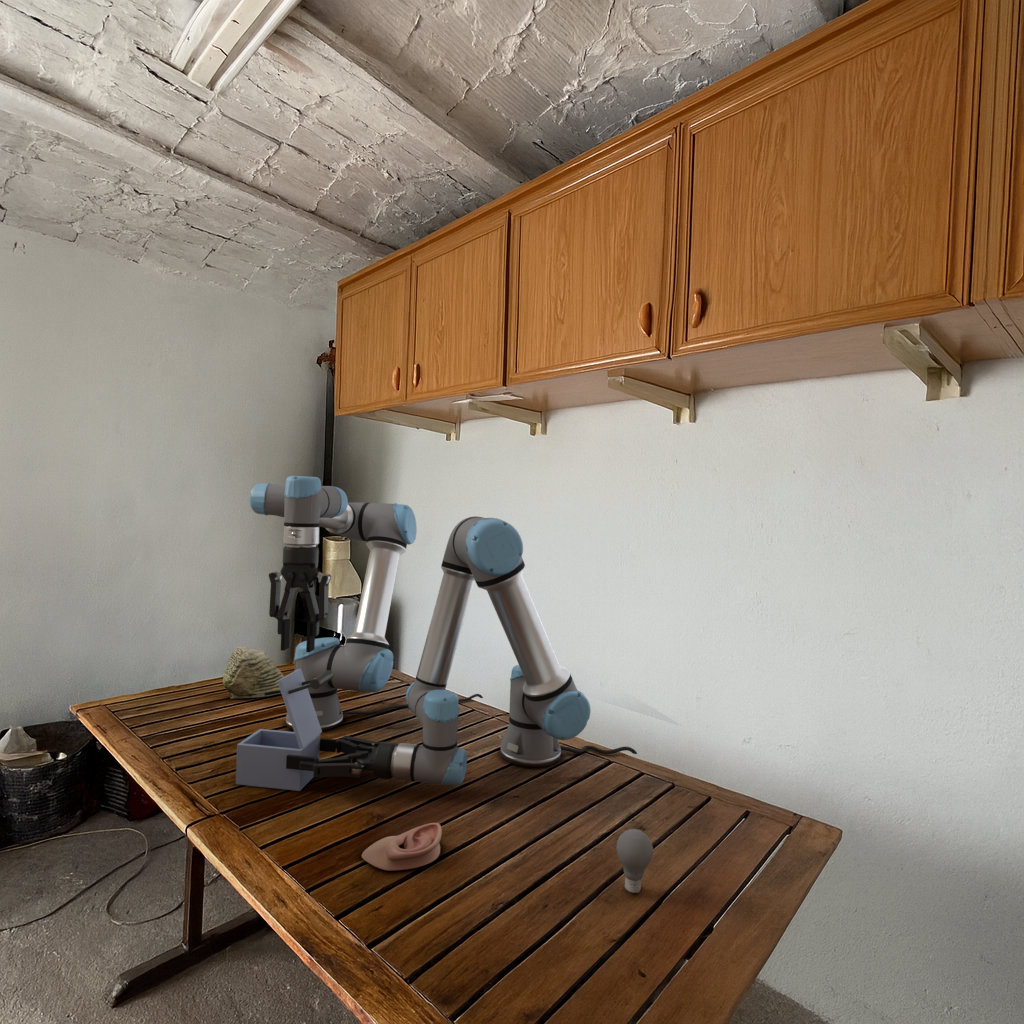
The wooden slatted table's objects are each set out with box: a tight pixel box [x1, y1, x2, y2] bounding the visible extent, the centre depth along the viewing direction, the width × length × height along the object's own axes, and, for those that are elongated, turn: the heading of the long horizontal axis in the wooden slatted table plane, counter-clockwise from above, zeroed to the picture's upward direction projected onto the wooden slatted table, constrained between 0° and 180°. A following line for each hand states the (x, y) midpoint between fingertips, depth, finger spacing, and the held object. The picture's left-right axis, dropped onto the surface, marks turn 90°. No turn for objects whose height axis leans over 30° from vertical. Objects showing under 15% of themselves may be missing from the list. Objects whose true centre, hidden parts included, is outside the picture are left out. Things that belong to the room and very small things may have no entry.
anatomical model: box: [361, 822, 443, 872], centre depth 114 cm, size 13×4×12 cm
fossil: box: [222, 646, 285, 699], centre depth 198 cm, size 9×18×15 cm, turn 132°
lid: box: [277, 668, 333, 749], centre depth 140 cm, size 15×10×8 cm
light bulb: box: [615, 828, 654, 894], centre depth 106 cm, size 6×6×10 cm
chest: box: [235, 728, 321, 792], centre depth 141 cm, size 15×10×9 cm, turn 83°
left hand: (297, 649), depth 141 cm, fingers open, 5 cm apart
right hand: (298, 752), depth 141 cm, fingers closed on chest, 10 cm apart
